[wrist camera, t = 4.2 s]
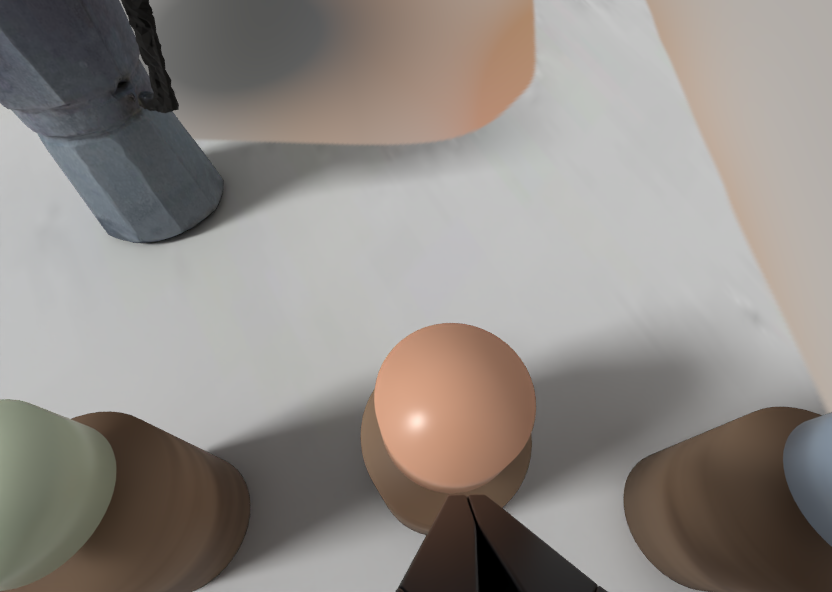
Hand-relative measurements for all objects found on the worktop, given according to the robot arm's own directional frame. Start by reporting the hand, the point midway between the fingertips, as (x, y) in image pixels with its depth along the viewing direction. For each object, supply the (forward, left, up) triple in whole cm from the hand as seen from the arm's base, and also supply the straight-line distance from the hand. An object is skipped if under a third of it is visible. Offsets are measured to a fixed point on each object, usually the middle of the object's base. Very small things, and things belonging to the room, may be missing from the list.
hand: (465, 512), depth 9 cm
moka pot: (+27, -12, -13) cm, 32 cm away
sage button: (+11, +4, -3) cm, 13 cm away
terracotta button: (+1, -3, -3) cm, 4 cm away
